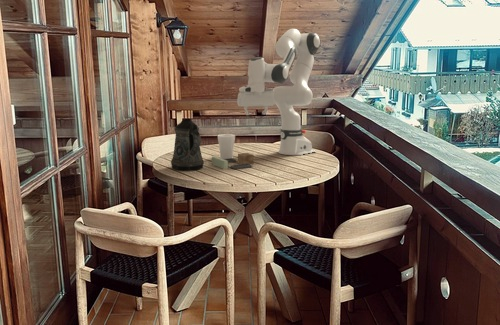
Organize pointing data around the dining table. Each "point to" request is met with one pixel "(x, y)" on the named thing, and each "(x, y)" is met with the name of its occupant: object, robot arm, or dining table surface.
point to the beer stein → (187, 147)
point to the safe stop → (220, 162)
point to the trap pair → (238, 165)
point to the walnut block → (245, 158)
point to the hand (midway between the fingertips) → (255, 114)
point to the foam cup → (226, 145)
